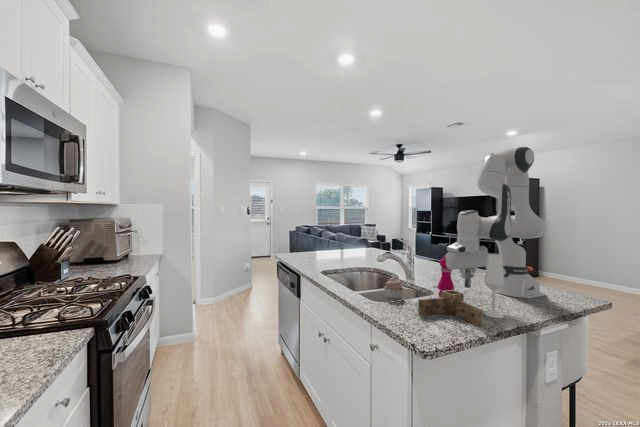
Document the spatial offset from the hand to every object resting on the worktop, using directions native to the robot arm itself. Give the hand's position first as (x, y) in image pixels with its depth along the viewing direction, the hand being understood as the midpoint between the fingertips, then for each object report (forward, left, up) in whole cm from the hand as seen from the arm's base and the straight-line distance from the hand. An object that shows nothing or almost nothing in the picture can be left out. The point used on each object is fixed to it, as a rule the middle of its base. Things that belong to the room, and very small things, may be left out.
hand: (467, 277), depth 130 cm
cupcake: (+29, -14, -12) cm, 34 cm away
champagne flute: (0, +15, -12) cm, 19 cm away
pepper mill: (+3, -11, -12) cm, 16 cm away
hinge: (+21, +14, -11) cm, 28 cm away
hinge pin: (0, 0, -4) cm, 4 cm away
